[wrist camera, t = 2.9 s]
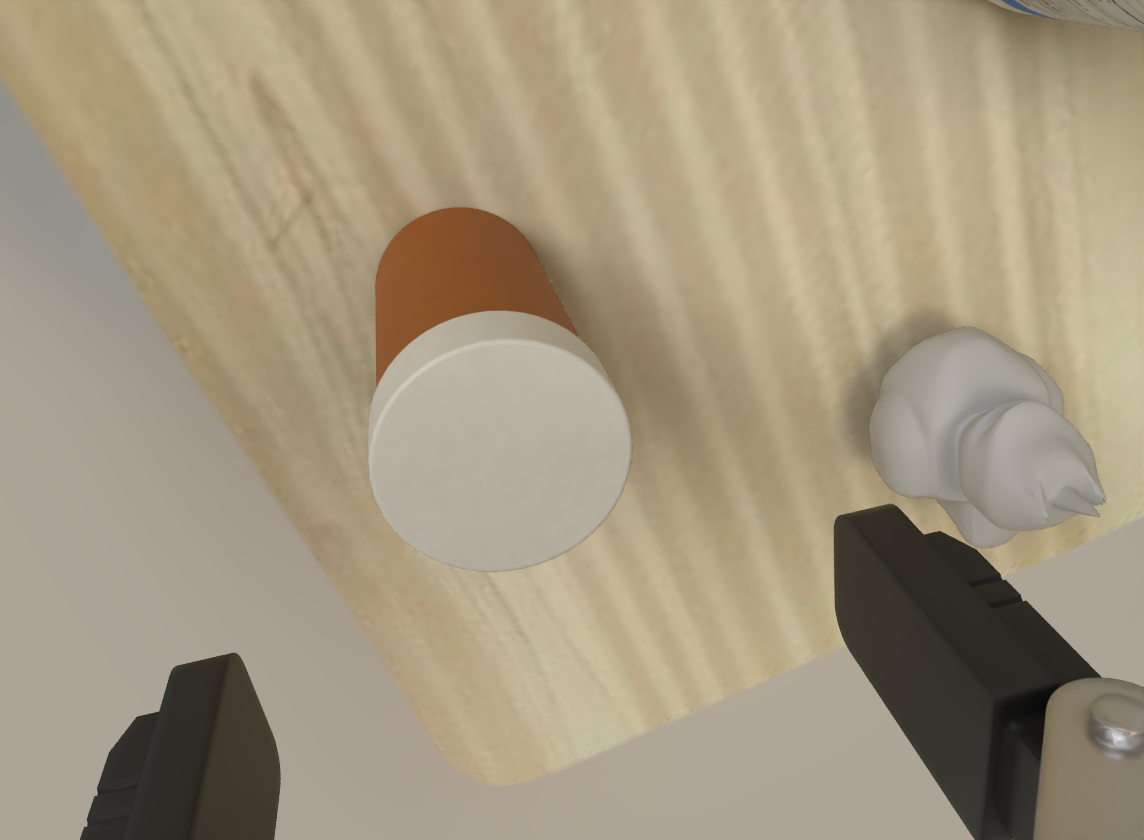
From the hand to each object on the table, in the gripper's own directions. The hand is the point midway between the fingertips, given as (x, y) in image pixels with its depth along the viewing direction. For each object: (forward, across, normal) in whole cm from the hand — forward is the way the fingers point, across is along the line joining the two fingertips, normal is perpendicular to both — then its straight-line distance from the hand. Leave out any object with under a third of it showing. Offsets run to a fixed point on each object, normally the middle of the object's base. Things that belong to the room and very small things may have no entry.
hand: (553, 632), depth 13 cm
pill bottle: (+14, 0, 0) cm, 14 cm away
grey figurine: (+14, -13, +7) cm, 21 cm away
